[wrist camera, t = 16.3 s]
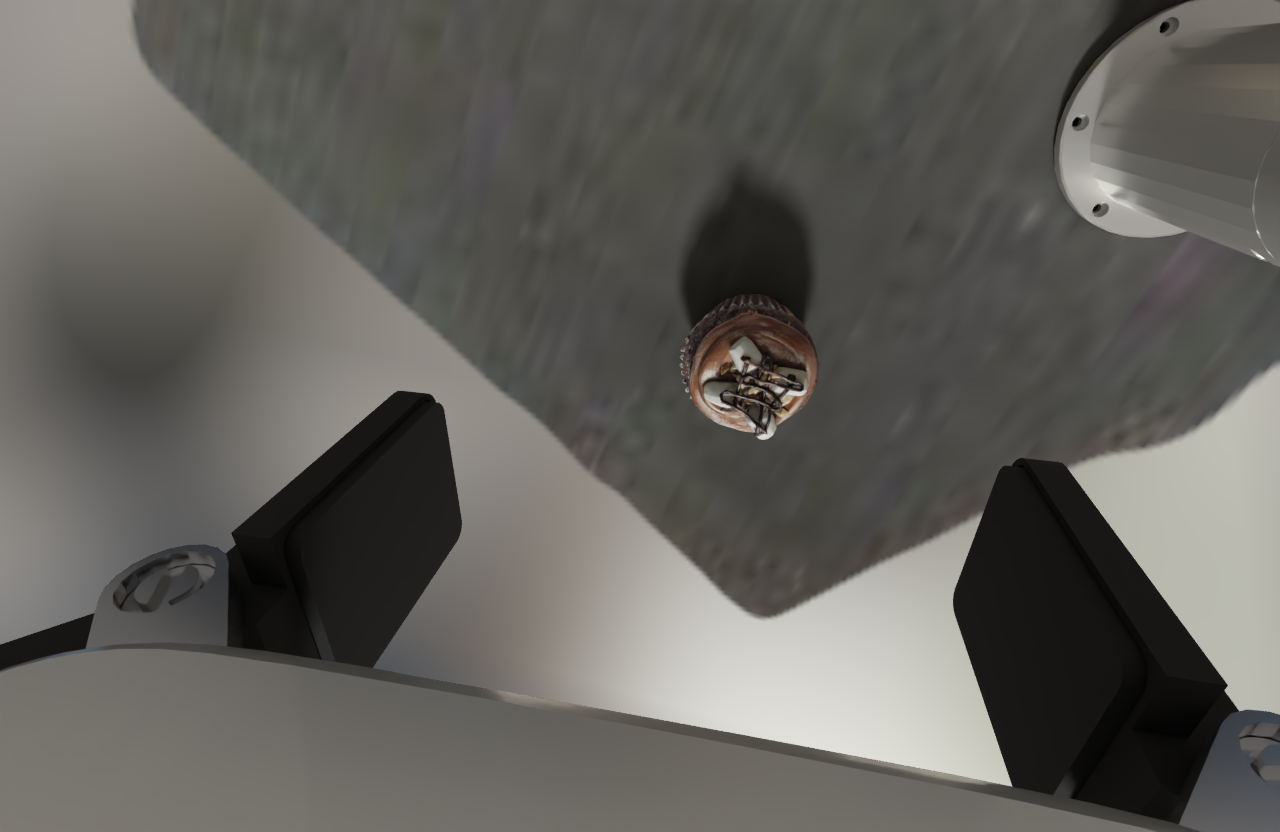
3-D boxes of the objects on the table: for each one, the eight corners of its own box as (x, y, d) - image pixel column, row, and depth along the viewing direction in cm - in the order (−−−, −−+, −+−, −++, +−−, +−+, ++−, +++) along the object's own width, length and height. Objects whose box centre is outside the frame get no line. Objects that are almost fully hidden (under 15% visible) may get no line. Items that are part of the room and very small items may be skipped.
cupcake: (712, 263, 45) (697, 308, 36) (836, 308, 45) (851, 364, 36) (670, 373, 50) (649, 436, 41) (782, 414, 50) (784, 485, 41)
